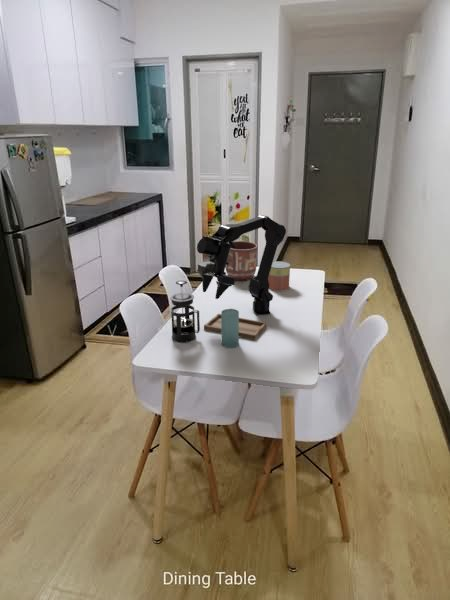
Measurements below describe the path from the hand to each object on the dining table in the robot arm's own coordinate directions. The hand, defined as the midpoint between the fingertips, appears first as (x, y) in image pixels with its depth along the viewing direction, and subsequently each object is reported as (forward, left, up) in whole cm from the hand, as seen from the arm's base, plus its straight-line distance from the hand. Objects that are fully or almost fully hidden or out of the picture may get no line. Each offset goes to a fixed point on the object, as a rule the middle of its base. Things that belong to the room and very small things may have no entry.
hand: (210, 295), depth 173 cm
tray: (-10, +3, -14) cm, 17 cm away
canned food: (-42, -40, -14) cm, 59 cm away
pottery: (-27, -59, -14) cm, 66 cm away
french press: (+11, +7, -14) cm, 20 cm away
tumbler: (-5, +16, -14) cm, 22 cm away
